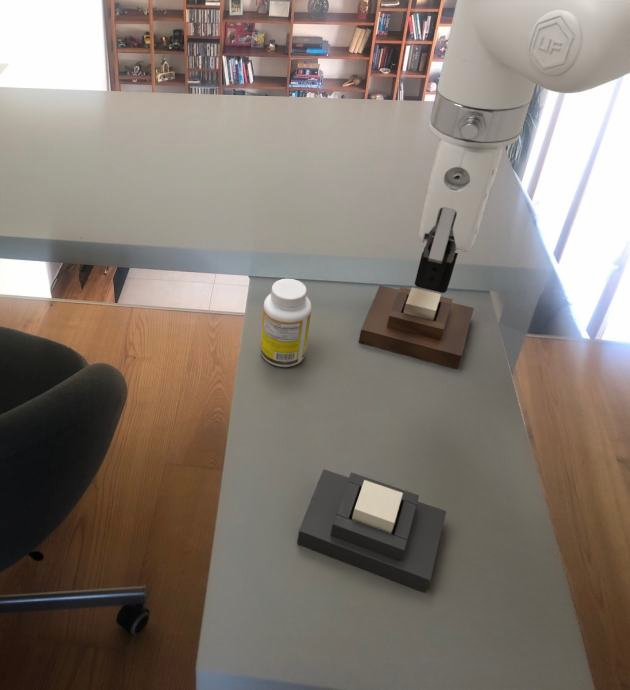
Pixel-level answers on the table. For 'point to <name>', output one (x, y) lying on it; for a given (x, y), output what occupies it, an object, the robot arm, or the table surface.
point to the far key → (422, 303)
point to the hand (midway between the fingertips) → (431, 285)
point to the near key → (377, 506)
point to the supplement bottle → (285, 323)
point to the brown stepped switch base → (416, 328)
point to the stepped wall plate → (373, 532)
